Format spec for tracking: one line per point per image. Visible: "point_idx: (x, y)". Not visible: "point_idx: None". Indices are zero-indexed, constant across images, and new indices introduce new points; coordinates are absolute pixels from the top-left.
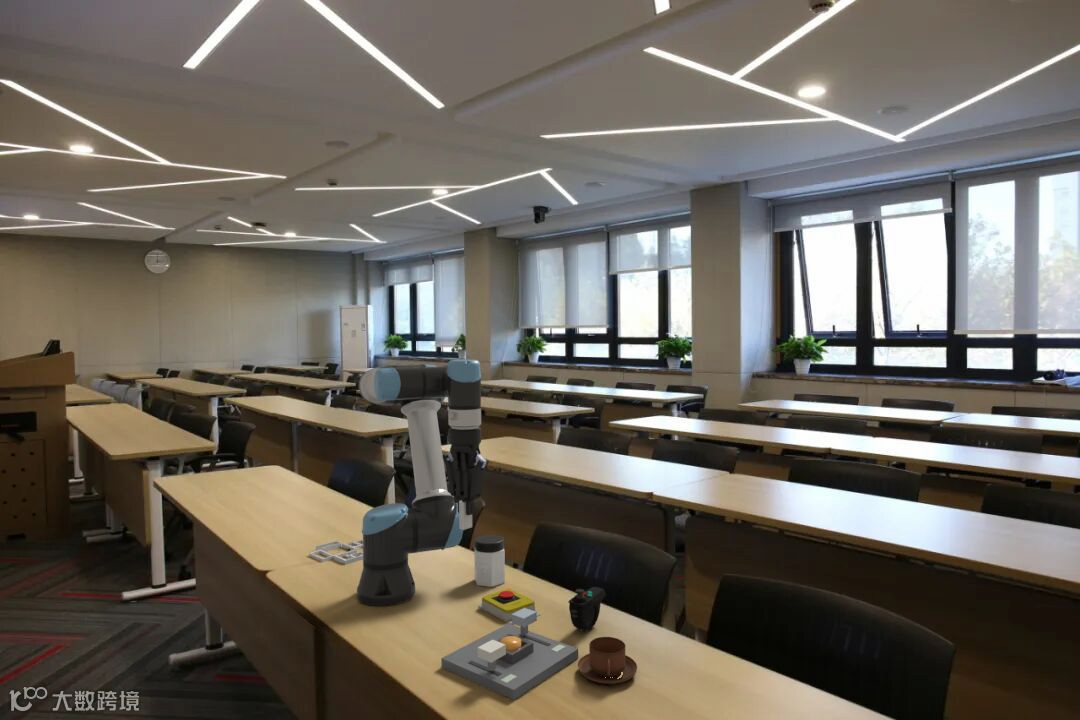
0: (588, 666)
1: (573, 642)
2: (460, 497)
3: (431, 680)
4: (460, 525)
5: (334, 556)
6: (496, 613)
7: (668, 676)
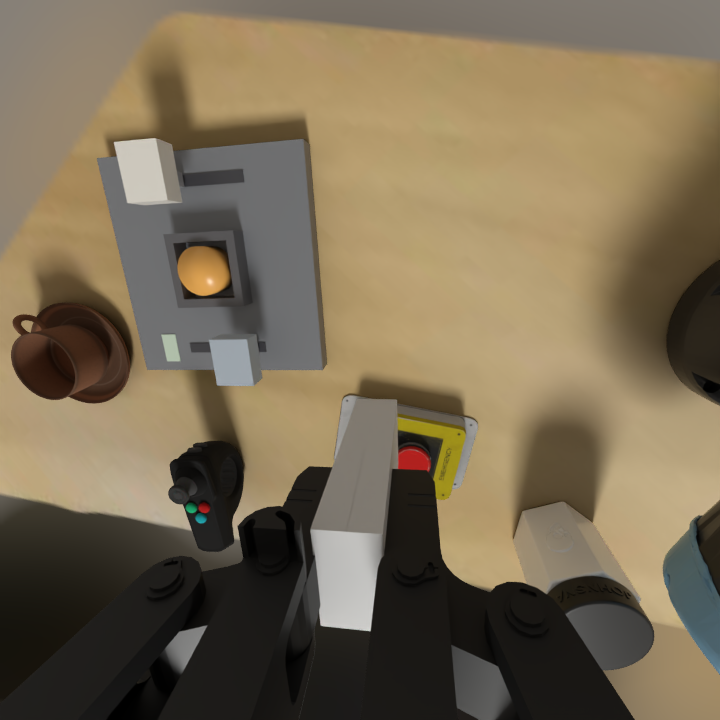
0: (118, 345)
1: (207, 405)
2: (378, 581)
3: (280, 85)
4: (385, 408)
5: None
6: (402, 408)
7: (34, 401)
